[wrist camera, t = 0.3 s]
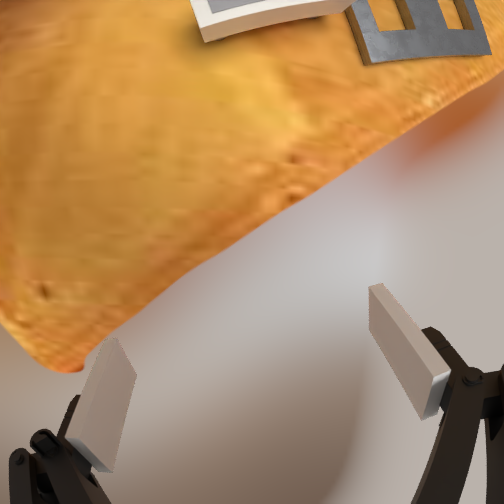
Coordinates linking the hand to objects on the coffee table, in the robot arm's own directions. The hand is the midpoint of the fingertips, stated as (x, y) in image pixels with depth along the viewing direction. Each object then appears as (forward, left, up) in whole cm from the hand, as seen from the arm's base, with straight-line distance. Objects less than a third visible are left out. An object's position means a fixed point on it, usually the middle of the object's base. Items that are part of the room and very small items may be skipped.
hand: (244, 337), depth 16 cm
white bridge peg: (-22, +11, -27) cm, 36 cm away
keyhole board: (-23, +33, -27) cm, 48 cm away
